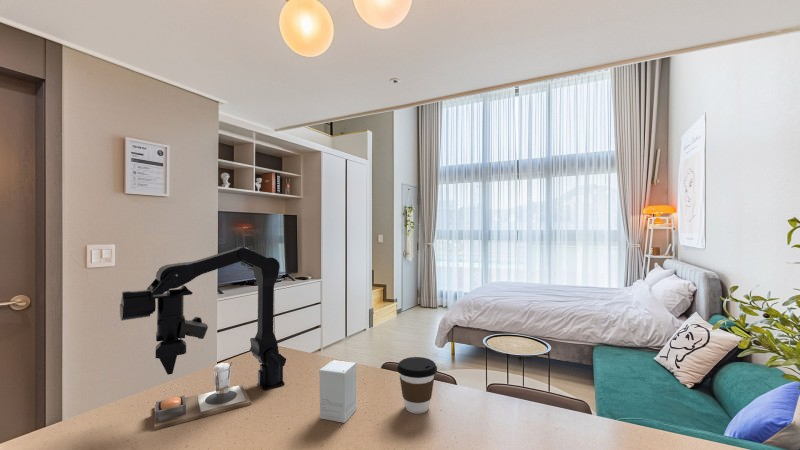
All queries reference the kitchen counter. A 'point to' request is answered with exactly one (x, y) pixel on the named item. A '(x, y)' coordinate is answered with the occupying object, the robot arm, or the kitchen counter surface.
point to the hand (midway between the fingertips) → (170, 373)
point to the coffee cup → (417, 382)
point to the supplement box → (338, 391)
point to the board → (199, 407)
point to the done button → (170, 403)
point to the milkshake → (222, 380)
